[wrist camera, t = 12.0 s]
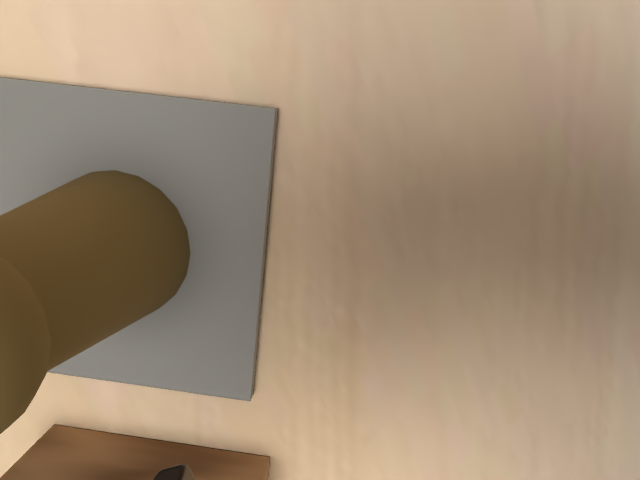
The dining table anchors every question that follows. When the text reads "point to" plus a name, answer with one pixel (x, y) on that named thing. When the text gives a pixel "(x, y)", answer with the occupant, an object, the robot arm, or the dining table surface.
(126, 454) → the walnut divider
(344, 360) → the dining table surface
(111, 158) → the grey mat
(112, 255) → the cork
